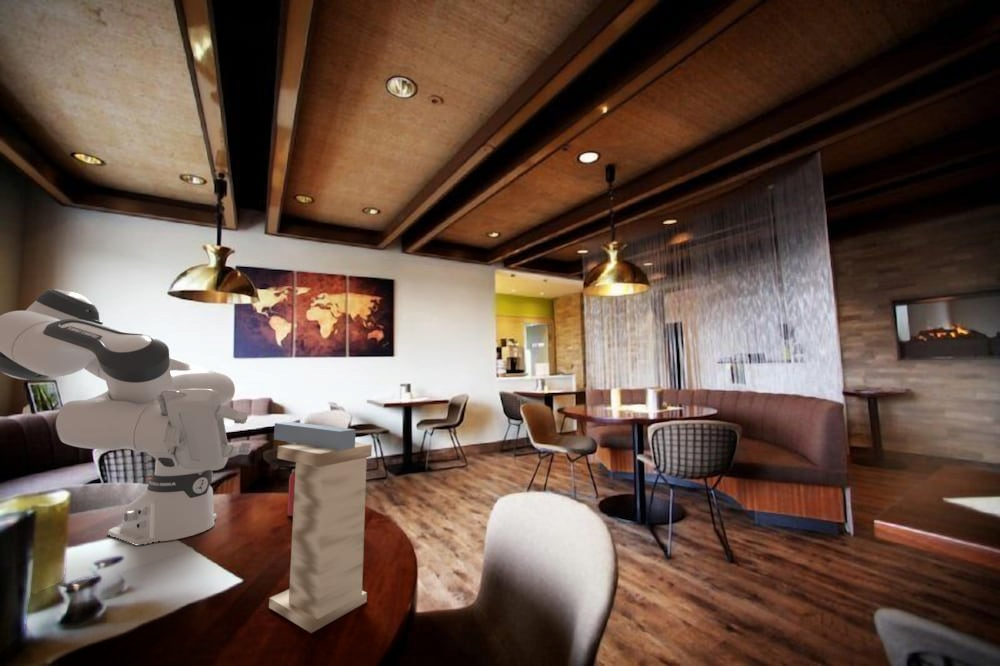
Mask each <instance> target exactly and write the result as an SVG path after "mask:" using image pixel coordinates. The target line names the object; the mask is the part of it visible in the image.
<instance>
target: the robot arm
mask: <svg viewBox="0 0 1000 666" xmlns="http://www.w3.org/2000/svg"><path fill="white" fill-rule="evenodd" d="M34 300H35V301H33V303H31V305H29V307H27V309H25V310H13V311H8V312H6V313H3V314H1V315H0V372H1V373H3V374H4V375H6V376H9V377H10V378H14V379H18V380H24V381H25V380H26V381H27V380H31V381H39V380H44V379H46V378H47V379H48V378H49V377H52V378H53V377H64V376H69V375H72V374H75V373H77V372H79V371H80V372H81V370H83V369H84V370H85V371H87V372H88V373H90V374H92V375H94V376H95V377H97V378H99V379H101V380H103V381H105V382H106V387H107V389H108V390H107V391H105V392H103V393H101V394H99V395H97V396H95V397H91V398H88V399H80V400H79V399H78V400H71V401H67V402H66V403H64V404H63V405H61V408H60V409H59V410H58V411H57V412H58V413H57V415H56V417H55V419H56V420H55V425H54V426H55V432H56V434H57V437H58V439H59V440H60V442H61V443H63V444H66V445H68V446H72V447H75V448H82V449H89V450H90V449H91V450H101V451H103V450H104V451H105V450H106V451H117V450H125V449H127V450H132V451H134V452H139V453H147V454H148V455H150V456H151V457H153V459H155V463H154V464H155V465H154V473H153V474H152V475H148V476H146V478H147V479H146V480H145V482H149V483H148V486H147V487H146V488H147V490H146V491H144V492H143V493H141V494H140V495H139V496H138V497H137V498H136V499H134V500H133V501H131V502H130V503H129V504H127V506H126V507H125V509H124V511H123V515H122V520H121V523H120V524H119V525H116V526H114V527H111V528H110V529H109V530H108V531H107V534H108V535H107V536H109V535H110V537H113V538H114V537H116V538H115V539H117V538H119V539H118V540H120V539H121V540H120V541H122V540H124V541H123V542H125V541H128V542H131V543H134V544H144V545H146V544H145V543H149V544H153V543H152V542H154V543H159V542H158V541H160V542H167V541H169V542H170V541H175V540H179V539H184V538H188V537H191V536H195V535H198V534H200V533H203V532H206V531H207V530H210V529H212V528H213V527H214V526H215V524H216V522H215V521H216V520H217V517H218V516H217V513H216V512H215V510H214V508H215V507H214V506H215V505H214V490H213V487H212V486H211V483H212V482H213V476H214V473H213V471H218V470H222V469H224V468H225V467H226V465H227V462H228V461H229V458H233V457H237V456H239V455H247V456H248V455H249V454H250V453H251V451H252V444H251V443H250V442H241V443H240V445H235V446H234V445H233V444H229V442H228V438H227V437H228V436H227V431H226V425H225V420H224V418H225V419H228V420H231V421H233V422H234V424H240V425H241V424H245V423H247V420H248V412H247V411H240V410H239V411H238V410H237V409H234V408H232V407H230V406H228V405H229V403H230V402H231V401H232V400H233V399H234V395H235V392H236V389H235V388H236V387H235V384H234V382H233V380H232V379H231V378H230V377H229V376H228V375H226V374H222V373H220V372H217V371H213V370H211V369H207V368H205V367H202V366H198V365H196V364H193V363H189V362H187V361H184V360H181V359H178V358H173V357H170V349H169V346H168V345H167V344H166V343H165V342H164V341H162V340H160V339H159V338H156V337H154V336H151V335H148V334H143V333H131V332H127V331H122V330H119V329H116V328H114V327H110V326H106V325H103V324H104V323H103V322H104V321H102V320H101V319H100V312H99V311H98V308H97V307H96V306H95V304H94V303H92V302H91V301H90V300H89V299H87V298H86V297H85V296H83V295H82V294H80V293H77V292H75V291H74V292H73V291H70V290H62V289H56V288H51V289H46V290H45V291H43V292H41V293H40V294H39V295H37V297H36V298H35V299H34ZM214 512H215V513H214ZM128 542H127V543H128Z"/></svg>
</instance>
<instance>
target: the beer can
mask: <svg viewBox="0 0 1000 666" xmlns="http://www.w3.org/2000/svg"><path fill="white" fill-rule="evenodd" d="M295 470H296V468H293V469H292V470H291V474H290V475H289V479H288V481H289V482H288V496H287V497H288V499H287V500H288V501H287V515H288V516H289V517H290V516H292V517H291V518H293V509H294V490H295Z"/></svg>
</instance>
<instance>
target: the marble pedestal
mask: <svg viewBox="0 0 1000 666" xmlns="http://www.w3.org/2000/svg"><path fill="white" fill-rule="evenodd" d="M372 446H373V445H372V444H369V443H362V442H356V441H355V448H350V449H345V450H334V449H328V448H322V447H316V446H310V445H304V444H298V443H291V444H284V445H277V457H276V459H279V460H284V461H288V462H293V463H295V469H296V470H295V490H294V509H293V517H292V529H291V530H292V532H291V553H290V570H289V571H290V572H289V573H290V574H289V588H288V589H286V590H284V591H282V592H280V593H277V594H274V595H272V596H270V597H269V602H268V608H269V609H270V610H272V611H274V612H276V614H279V615H280V616H282V617H284V618H286V620H289V621H290V622H292V623H294V624H295V625H297V626H298V627H300V628H302V629H303V630H305V631H306V632H308V633H309V634H312V633H314V632H316V631H318V630H320V629H322V628H323V627H325V626H327V625H328V624H330V623H332V622H334V621H335V620H337V619H339V618H341V617H343V616H344V615H346V614H347V613H350V612H351V611H353V610H355V609H356V608H359V607H361V606H362V605H363V604H366V603H367V599H368V592H366V591H364V590H363V576H364V574H363V573H364V572H363V571H364V550H365V549H364V546H365V545H364V544H365V522H366V521H365V517H366V516H365V514H366V485H367V484H366V483H367V458H370V457H372V451H373V450H372V448H373V447H372Z"/></svg>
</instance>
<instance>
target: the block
mask: <svg viewBox="0 0 1000 666" xmlns="http://www.w3.org/2000/svg"><path fill="white" fill-rule="evenodd" d="M273 440H275V441H283V442H288V443H291V444H297V443H298V444H304V445H310V446H316V447H322V448H328V449H334V450H345V449H350V448H355V442H356V429H353V428H346V427H345V428H344V427H343V428H342V427H336V426H329V425H320V424H314V423H313V424H312V423H303V422H296V421H285V422H284V421H283V422H282V421H281V422H275V423H274V431H273Z"/></svg>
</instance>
